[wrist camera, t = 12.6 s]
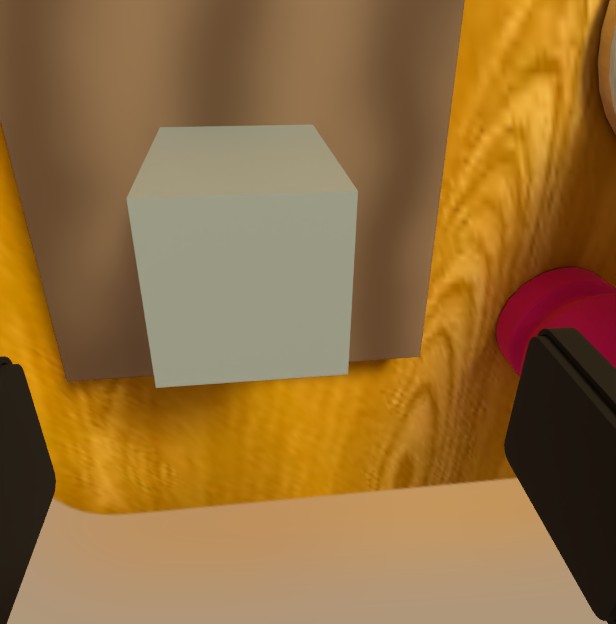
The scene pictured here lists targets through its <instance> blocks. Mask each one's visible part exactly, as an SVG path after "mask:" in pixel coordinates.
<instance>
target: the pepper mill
mask: <svg viewBox="0 0 616 624" xmlns="http://www.w3.org/2000/svg"><path fill="white" fill-rule="evenodd" d="M566 327H572V328H575V329H577V330H578V331H579V332H580V333H581V334H582V335H583V336H584V337H585V338H586V339H587V340H588V341H589V342H590V343H591V344H592V345H593V346H594V347H595V348H596V349H597V350H598V351H599V352H600V353H601V354H602V355H603V356H604V357H605V358H606V359H607V360H608V361H609V362H610V363H611V365H612V366H613V367H614V368H615V369H616V289H615V288H614V287H613V286H611V285H610V284H609V283H607V282H606V281H605V280H604V279H602V278H601V277H600V276H598V275H596V274H595V273H593V272H591V271H588V270H585V269H582V268H573V267H566V268H560V269H555V270H551V271H547V272H545V273H543V274H541V275H538V276H536V277H535V278H533V279H532V280H530V281H529V282H527V283H525V284H524V285H522V286H521V287H520V288H519V289H518V290H517V292H516V293H515V294H514V295H513V296H512V297H511V298H510V299H509V300H508V302H507V303H506V305H505V307H504V309H503V311H502V312H501V314H500V318H499V321H498V325H497V333H496V334H497V343H498V346H499V349H500V351H501V353H502V354H503V356H504V357H505V359H506V360H507V361H508V362H509V364H510V365H511V366H512V368H513V369H514V370H515V371H516V373H517V374H518V375H519V376H520V377H521V372H522V368H523V364H524V360H525V356H526V352H527V348H528V344H529V341H530V339H531V338H532V337H537V335H538V333H539V332H540V330H542V329H547V328H566Z"/></svg>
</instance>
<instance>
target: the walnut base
mask: <svg viewBox="0 0 616 624" xmlns="http://www.w3.org/2000/svg"><path fill="white" fill-rule="evenodd" d="M464 1H465V0H0V121H1V125H2V129H3V133H4V137H5V141H6V145H7V149H8V152H9V156H10V160H11V164H12V168H13V172H14V176H15V180H16V184H17V188H18V192H19V195H20V199H21V203H22V207H23V211H24V215H25V219H26V223H27V227H28V231H29V235H30V238H31V242H32V246H33V250H34V254H35V258H36V262H37V266H38V270H39V274H40V278H41V282H42V285H43V289H44V293H45V297H46V301H47V305H48V309H49V313H50V317H51V321H52V325H53V328H54V332H55V336H56V340H57V344H58V348H59V352H60V356H61V360H62V364H63V368H64V371H65V375H66V379H67V382H71V381H85V380H99V379H113V378H127V377H141V376H154V372H153V366H152V359H151V353H150V347H149V340H148V334H147V327H146V321H145V314H144V308H143V302H142V295H141V289H140V282H139V276H138V270H137V263H136V257H135V250H134V244H133V237H132V231H131V225H130V218H129V212H128V205H127V199H126V198H127V196H128V194H129V192H130V190H131V188H132V186H133V183H134V181H135V179H136V177H137V175H138V173H139V171H140V169H141V166H142V164H143V162H144V160H145V158H146V156H147V154H148V151H149V149H150V147H151V145H152V143H153V141H154V139H155V137H156V134H157V132H158V130H159V128H160V127H204V126H261V125H314V127H315V128H316V130H317V131H318V133H319V134H320V136H321V137H322V139H323V140H324V142H325V143H326V145H327V146H328V148H329V149H330V150H331V152H332V153H333V155H334V156H335V158H336V159H337V161H338V162H339V164H340V165H341V167H342V168H343V170H344V171H345V173H346V174H347V176H348V177H349V179H350V180H351V181H352V183H353V184H354V186H355V187H356V189H357V190H358V200H357V219H356V237H355V255H354V274H353V292H352V311H351V329H350V348H349V362H353V361H367V360H382V359H396V358H410V357H420V351H421V343H422V335H423V327H424V319H425V311H426V303H427V295H428V287H429V279H430V271H431V263H432V255H433V247H434V239H435V231H436V223H437V215H438V207H439V200H440V192H441V184H442V176H443V168H444V160H445V152H446V144H447V136H448V128H449V120H450V112H451V104H452V96H453V88H454V80H455V72H456V64H457V56H458V48H459V40H460V32H461V24H462V17H463V9H464Z"/></svg>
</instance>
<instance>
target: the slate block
mask: <svg viewBox="0 0 616 624" xmlns="http://www.w3.org/2000/svg"><path fill="white" fill-rule="evenodd" d="M126 199H127V205H128V212H129V218H130V225H131V231H132V237H133V244H134V250H135V257H136V263H137V270H138V276H139V282H140V289H141V295H142V302H143V308H144V314H145V321H146V327H147V334H148V340H149V347H150V353H151V359H152V366H153V372H154V379H155V385H156V388H162V387H176V386H190V385H204V384H218V383H232V382H246V381H260V380H274V379H289V378H303V377H317V376H331V375H345V374H348V366H349V348H350V329H351V311H352V292H353V274H354V255H355V237H356V219H357V200H358V190H357V189H356V187H355V186H354V184H353V183H352V181H351V180H350V179H349V177H348V176H347V174H346V173H345V171H344V170H343V168H342V167H341V165H340V164H339V162H338V161H337V159H336V158H335V156H334V155H333V153H332V152H331V150H330V149H329V148H328V146H327V145H326V143H325V142H324V140H323V139H322V137H321V136H320V134H319V133H318V131H317V130H316V128H315V127H314V125H261V126H204V127H160V128H159V130H158V132H157V134H156V137H155V139H154V141H153V143H152V145H151V147H150V149H149V151H148V154H147V156H146V158H145V160H144V162H143V164H142V166H141V169H140V171H139V173H138V175H137V177H136V179H135V181H134V183H133V186H132V188H131V190H130V192H129V194H128V196H127V198H126Z"/></svg>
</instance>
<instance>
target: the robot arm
mask: <svg viewBox="0 0 616 624" xmlns="http://www.w3.org/2000/svg"><path fill="white" fill-rule="evenodd" d="M598 75H599V92H600V96H601V99H602V103H603V107H604V111H605V115H606V118H607V120H608V121H609V123H610V125H611V127H612V129H613V131H614V133H615V135H616V0H610V1H609V5H608V8H607V12H606V16H605V19H604V23H603V26H602V30H601V39H600V47H599V56H598ZM504 445H505V454H506V457H507V460H508V462H509V464H510V465H511V467H512V469H513V471H514V473H515V474H516V476H517V478H518V480H519V481H520V483H521V485H522V487H523V488H524V490H525V492H526V494H527V496H528V497H529V499H530V501H531V503H532V504H533V506H534V508H535V510H536V511H537V513H538V515H539V517H540V519H541V520H542V522H543V524H544V525H545V527H546V529H547V531H548V533H549V534H550V536H551V538H552V540H553V541H554V543H555V545H556V547H557V549H558V550H559V552H560V554H561V556H562V557H563V559H564V561H565V563H566V564H567V566H568V568H569V570H570V572H571V573H572V575H573V577H574V579H575V580H576V582H577V584H578V586H579V587H580V589H581V591H582V593H583V595H584V596H585V598H586V600H587V601H588V603H589V605H590V607H591V609H592V610H593V612H594V613H595V615H596V616H597V617H598V618H599V619H601V620H603V621H607V622H608V624H616V369H615V368H614V367H613V366H612V365H611V363H610V362H609V361H608V360H607V359H606V358H605V357H604V356H603V355H602V354H601V353H600V352H599V351H598V350H597V349H596V348H595V347H594V346H593V345H592V344H591V343H590V342H589V341H588V340H587V339H586V338H585V337H584V336H583V335H582V334H581V333H580V332H579V331H578V330H577V329H575V328H572V327H566V328H547V329H542V330H540V332H539V333H538V335H537V337H532V338H531V339H530V341H529V344H528V348H527V352H526V356H525V360H524V364H523V368H522V372H521V377H520V381H519V385H518V389H517V393H516V397H515V401H514V405H513V409H512V414H511V418H510V422H509V426H508V430H507V434H506V438H505V444H504ZM55 484H56V479H55V472H54V469H53V466H52V463H51V459H50V456H49V453H48V449H47V446H46V443H45V440H44V436H43V433H42V430H41V426H40V423H39V420H38V416H37V413H36V410H35V407H34V403H33V400H32V397H31V393H30V390H29V387H28V384H27V380H26V377H25V374H24V371H23V368H22V367H21V366H20V365H19V364H12V362H11V360H10V359H9V358H7V357H0V624H7V621H8V618H9V616H10V613H11V610H12V607H13V604H14V602H15V599H16V596H17V594H18V591H19V588H20V585H21V583H22V580H23V577H24V575H25V572H26V569H27V566H28V564H29V561H30V558H31V556H32V553H33V550H34V547H35V544H36V542H37V539H38V536H39V534H40V531H41V528H42V526H43V523H44V520H45V517H46V515H47V512H48V509H49V506H50V504H51V501H52V498H53V495H54V492H55Z"/></svg>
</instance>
